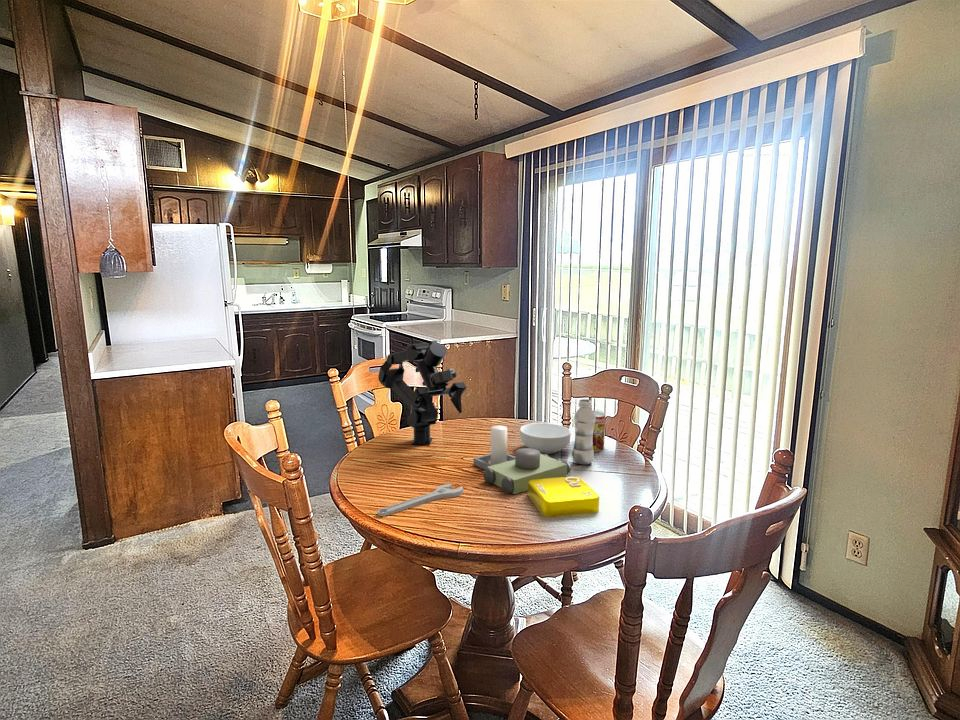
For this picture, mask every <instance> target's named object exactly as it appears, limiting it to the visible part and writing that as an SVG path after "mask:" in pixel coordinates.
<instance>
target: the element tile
mask: <svg viewBox="0 0 960 720" xmlns="http://www.w3.org/2000/svg"><path fill="white" fill-rule="evenodd" d="M527 497H528V498H529V500H530V501H531V502H532V503H533V505H534V506H535V508H536V509H537V510H538V511H539V513H540V514H541V515H542V516H543V517H546V518H556V517H557V518H559V517H567V516H577V515H586V514H587V515H588V514H595V513H598V512H599V511H600V495H599V494H598V493H597V492H596V491H595V490H594V489H593V487H591V486H590V485H588V483H586V482H585V480H583V479H582V478H581V477H580V476H576V475H573V476H572V475H571V476H567V477H558V478H546V479H533V480H530V481H529V482H528V490H527Z"/></svg>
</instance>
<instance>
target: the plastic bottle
mask: <svg viewBox="0 0 960 720" xmlns="http://www.w3.org/2000/svg"><path fill="white" fill-rule="evenodd" d="M578 407H579V408H578V409H577V411H576V412H575V414H574V416H573V422H574V443H573V449H572V453H571V457H572V460H573V462H574V463H575V464H578V465H584V466H585V465H590V464H592V462H593V461H594V457H595V452H594V451H593V430H594V425H595V419H596V417H595V414H594V412H593V411H594V410H592V400H590V399H589V398H588V399H585V398H583V399H579V401H578Z"/></svg>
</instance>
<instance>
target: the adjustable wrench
mask: <svg viewBox="0 0 960 720" xmlns="http://www.w3.org/2000/svg"><path fill="white" fill-rule="evenodd" d="M463 494H464V486H462V485H461V486H459V487H458V488H455V489H453V484H452V483H447V484H446V483H445V484H442V485H438V486H436V487H435V489H434V491H432V492H430V493H425V494H422V495H420V496H417V497H413V498H410V499H408V500H407V499H406V500H404V501H401V502H398V503H394V504H391V505H389V506H384V507H382V508H379V509H377V516H378V515H379V516H385V517H387V516H386V515H388V516H390V515H389V514H391V515H393V514H392V513H394V514H396V513H395V512H397V513H399V512H398V511H400V512H403V511H405V510H404V509H406V510H409V509H412V508H415V507H418V506H420V505H423V504H427V503H430V502H432V501H436V500H438V499H439V500H440V499H445V498H446V499H447V498H456V497H461V496H462V495H463ZM417 505H418V506H417ZM414 506H415V507H414ZM411 507H412V508H411ZM408 508H409V509H408ZM402 510H403V511H402ZM382 512H384V513H382ZM379 516H378V517H379Z"/></svg>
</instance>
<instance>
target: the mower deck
mask: <svg viewBox="0 0 960 720" xmlns="http://www.w3.org/2000/svg"><path fill="white" fill-rule="evenodd" d="M514 452H515V454H514V455H512V454H509V453H507V462H504V463H500V464H496V465H490V464H488V462H489V461H490V460H491V453H488V454H484V455H481V456H477V457H474V458H473V465H474V466H476V467H479V468H480V469H483V470H484V471H483V479H484V481H485V483H486V484H488V485H490V484H493V485H495V486H496V487H499V488H501V489H502V491H503V492H504V493H505V494H510V493H511V494H512V495H517V494H519V493H523V492H527V491H528V482H529V481H530V480H533V479H546V478H558V477H568V475H570V472H571V468H570V465H569V463H568V462H567V461H565V460H564V461H559V460H557V459H556V458H555V459H554V458H552V457H550V456H549V454H543V453H540V452H539V451H538V450H536V449H531V448H528V447H524V448H523V447H522V448H518V449H516V450H515V451H514Z"/></svg>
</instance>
